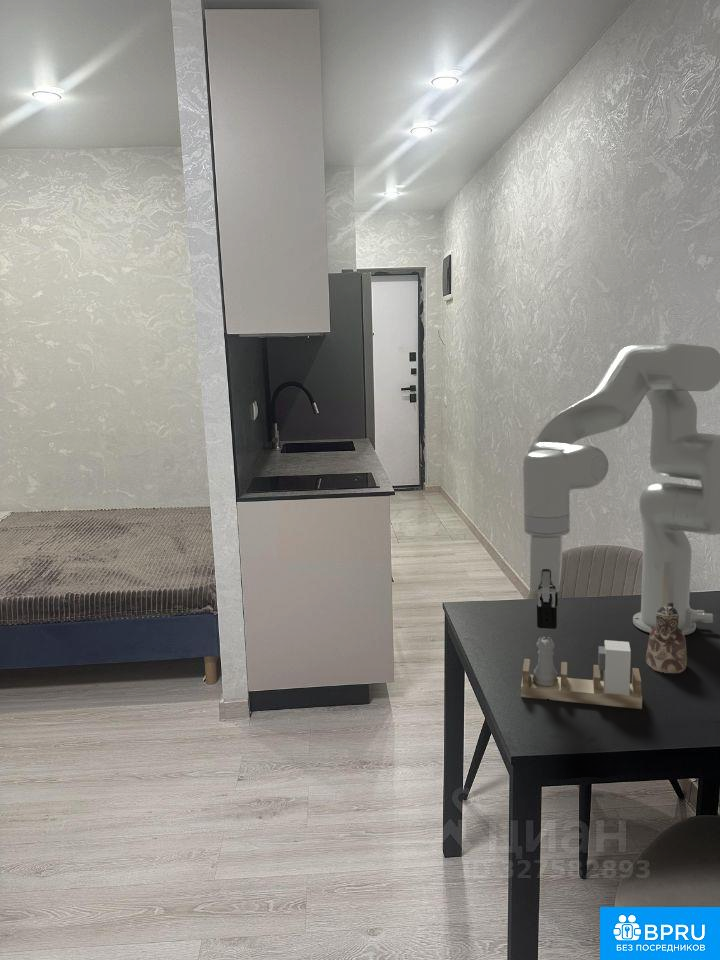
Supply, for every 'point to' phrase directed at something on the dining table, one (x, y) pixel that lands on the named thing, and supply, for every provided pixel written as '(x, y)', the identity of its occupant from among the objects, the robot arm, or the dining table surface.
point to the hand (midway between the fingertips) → (547, 616)
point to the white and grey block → (615, 666)
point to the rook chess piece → (545, 664)
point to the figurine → (667, 643)
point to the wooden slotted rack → (581, 689)
